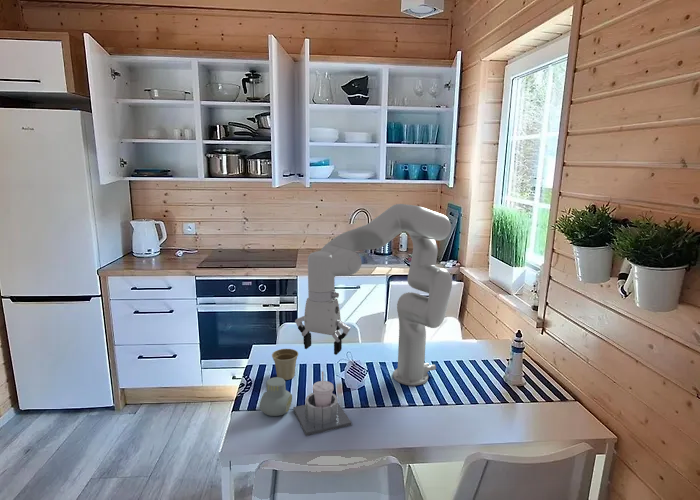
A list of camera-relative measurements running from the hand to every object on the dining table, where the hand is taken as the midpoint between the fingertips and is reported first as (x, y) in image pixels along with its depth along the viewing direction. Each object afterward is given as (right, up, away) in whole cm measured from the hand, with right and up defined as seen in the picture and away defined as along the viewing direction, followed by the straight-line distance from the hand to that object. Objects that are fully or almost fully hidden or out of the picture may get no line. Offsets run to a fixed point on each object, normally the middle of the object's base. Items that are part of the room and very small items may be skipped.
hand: (322, 349), depth 129 cm
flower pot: (-15, -16, +29) cm, 37 cm away
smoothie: (0, -21, +4) cm, 21 cm away
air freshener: (-15, -21, +8) cm, 27 cm away
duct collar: (-1, -22, +4) cm, 22 cm away
